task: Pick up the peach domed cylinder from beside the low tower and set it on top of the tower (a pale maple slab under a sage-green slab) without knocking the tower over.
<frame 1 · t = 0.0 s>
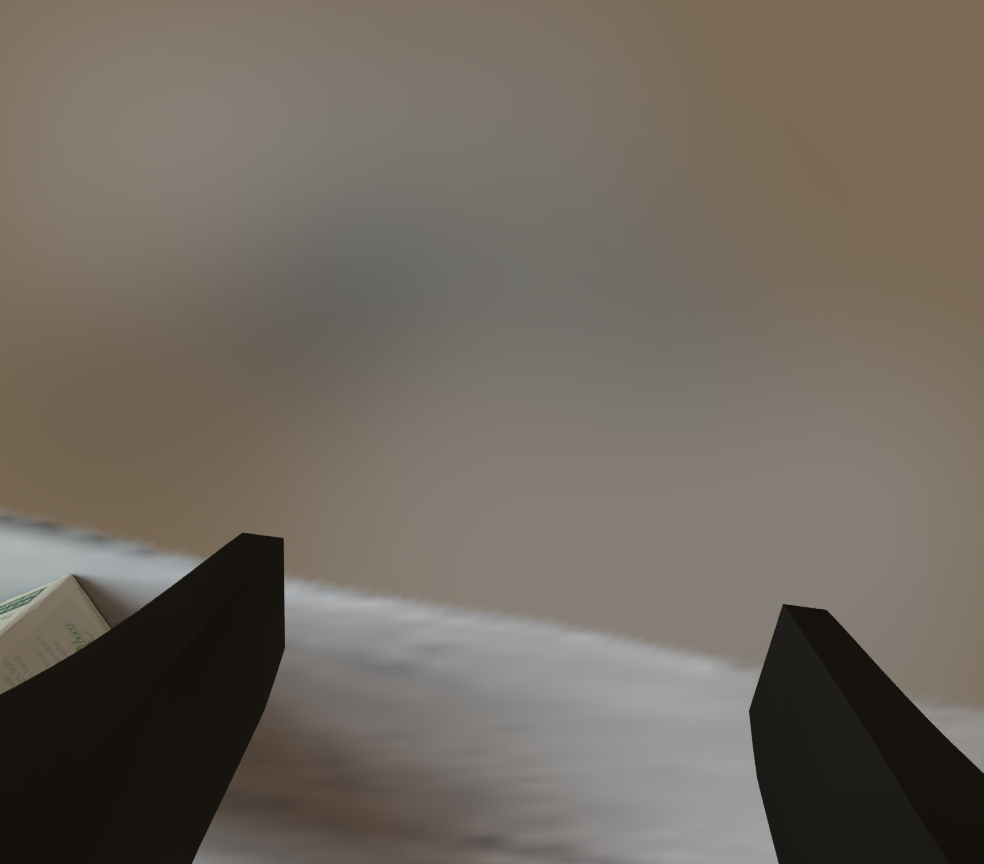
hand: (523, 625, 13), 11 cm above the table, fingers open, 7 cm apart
syrup box: (56, 679, 26), on the table
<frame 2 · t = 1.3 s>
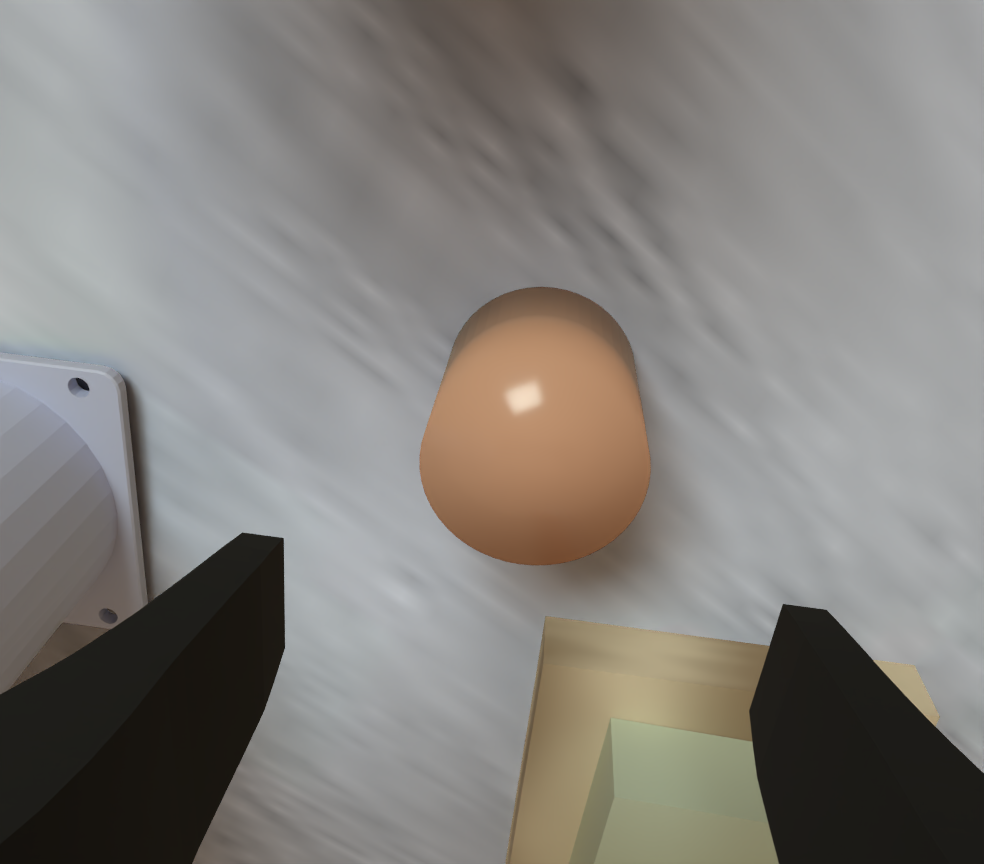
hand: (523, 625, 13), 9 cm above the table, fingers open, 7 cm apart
maple slab: (688, 753, 27), on the table, touching sage slab
sage slab: (708, 828, 25), point 2 cm above the table, touching maple slab
peach domed cylinder: (541, 376, 21), on the table
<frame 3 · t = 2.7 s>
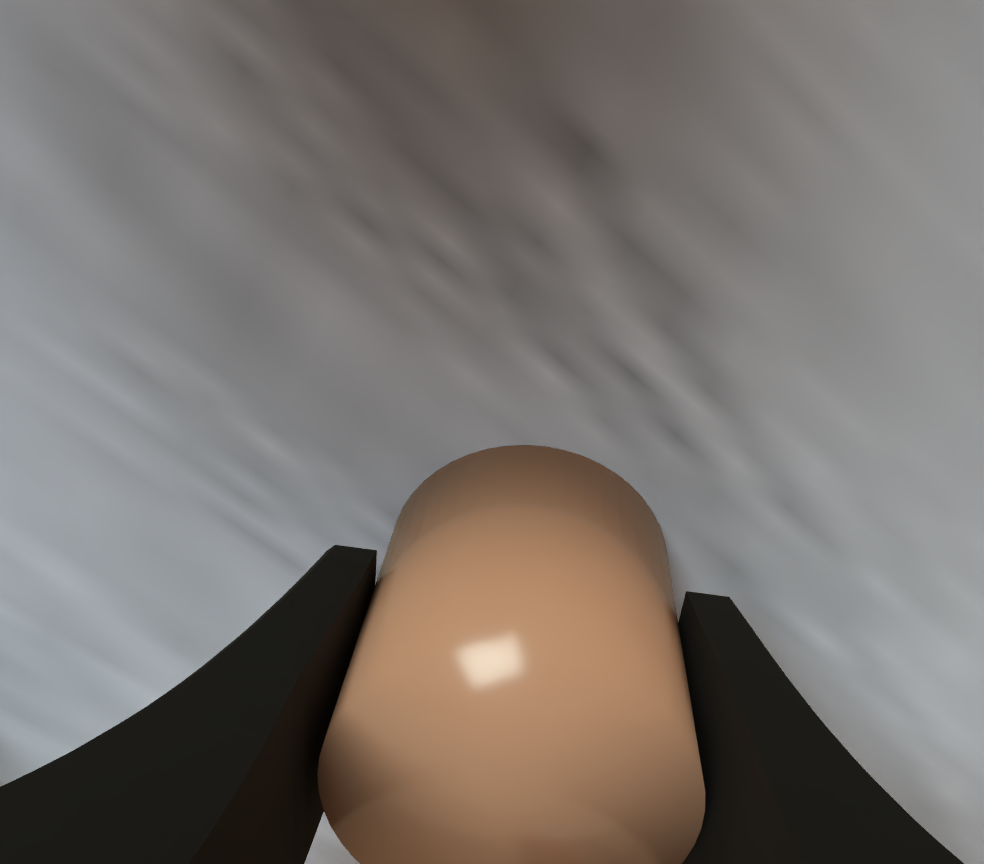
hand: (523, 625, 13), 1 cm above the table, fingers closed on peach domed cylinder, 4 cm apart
peach domed cylinder: (527, 567, 14), on the table, touching gripper
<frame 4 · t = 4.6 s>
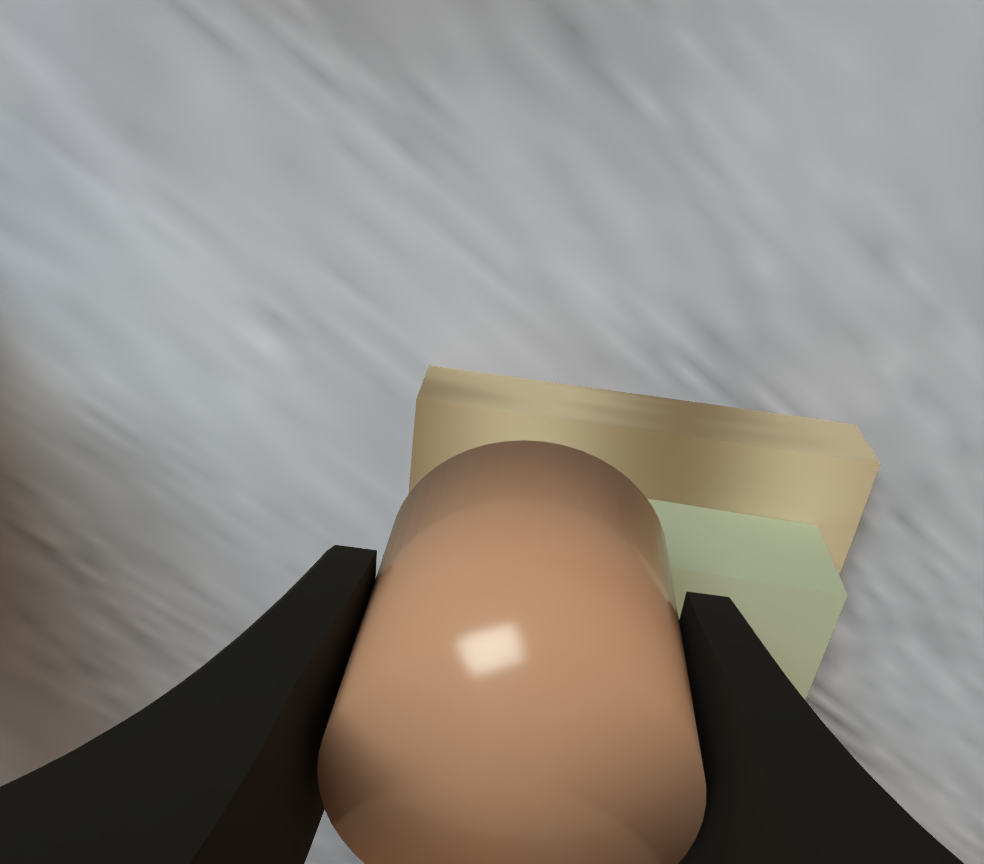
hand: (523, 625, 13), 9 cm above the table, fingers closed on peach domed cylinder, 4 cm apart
maple slab: (603, 553, 23), on the table, touching sage slab
sage slab: (629, 622, 21), point 2 cm above the table, touching maple slab
peach domed cylinder: (527, 563, 14), point 7 cm above the table, touching gripper
when the fingers open (7 cm above the table, at t = 5.9 s): peach domed cylinder drops 2 cm, resting on sage slab.
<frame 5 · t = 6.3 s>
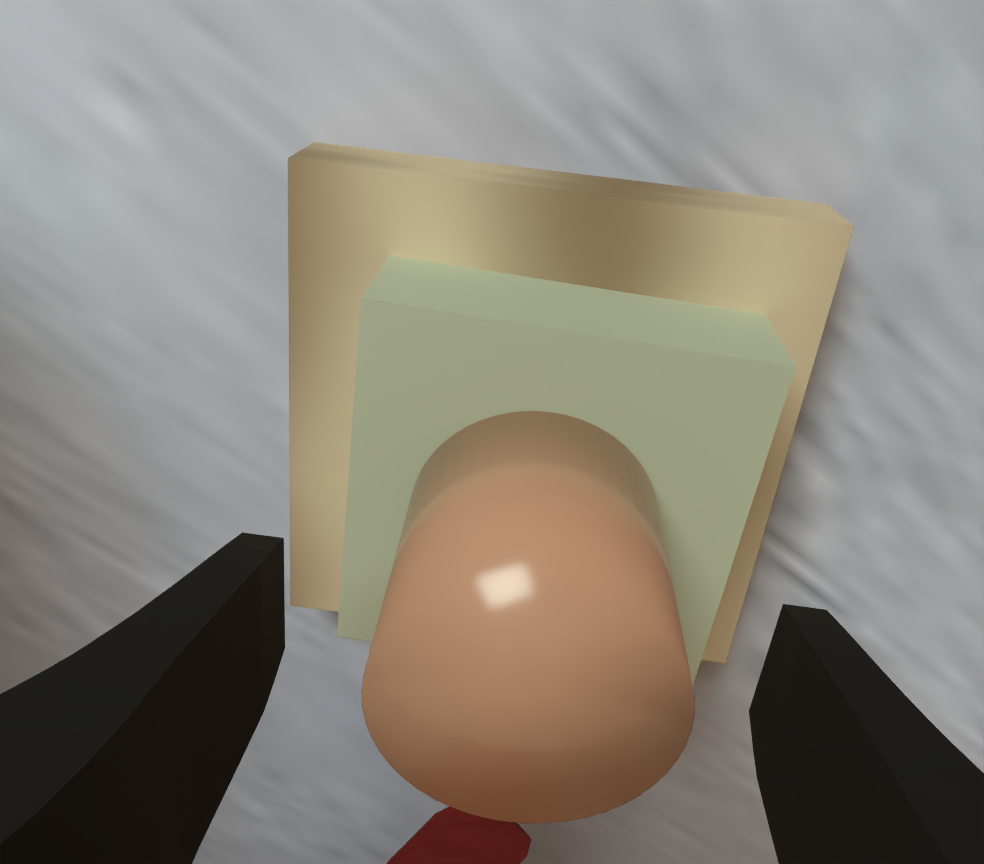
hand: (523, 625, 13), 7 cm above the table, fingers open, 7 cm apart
maple slab: (537, 390, 20), on the table, touching sage slab
sage slab: (546, 449, 18), point 2 cm above the table, touching maple slab, peach domed cylinder
peach domed cylinder: (532, 521, 16), point 4 cm above the table, touching sage slab
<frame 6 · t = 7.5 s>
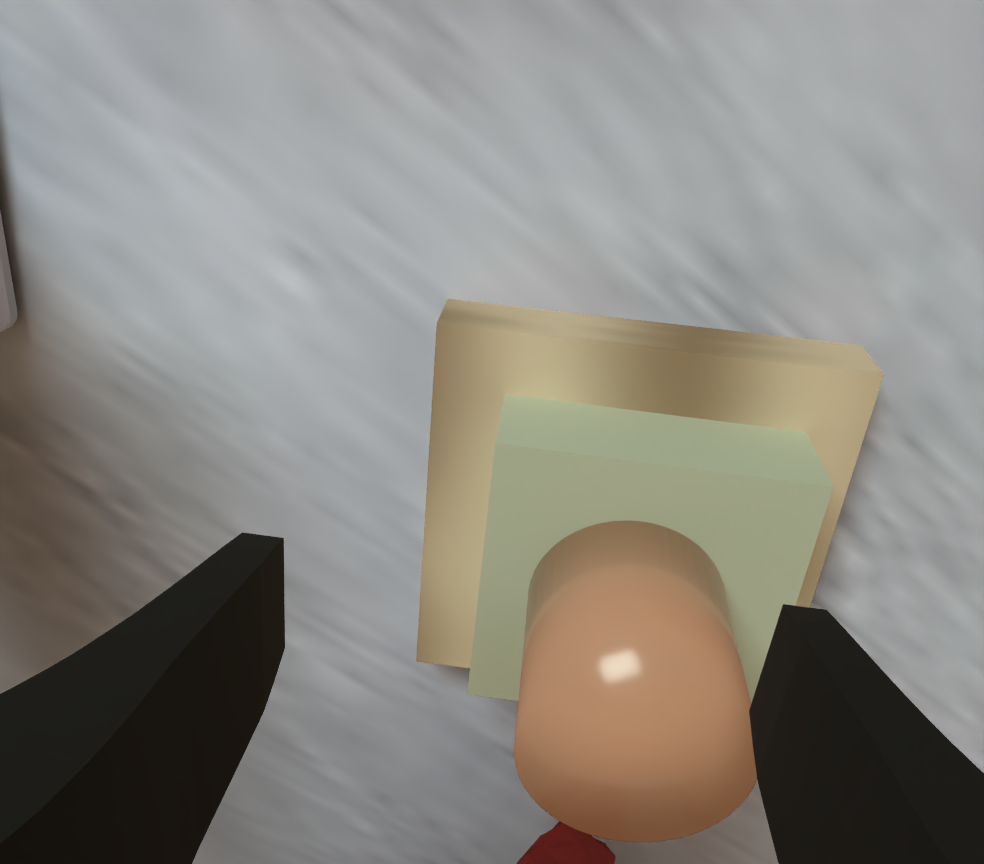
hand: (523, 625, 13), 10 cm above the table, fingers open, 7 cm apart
maple slab: (619, 483, 24), on the table, touching sage slab
sage slab: (629, 537, 22), point 2 cm above the table, touching maple slab, peach domed cylinder
peach domed cylinder: (625, 602, 20), point 4 cm above the table, touching sage slab
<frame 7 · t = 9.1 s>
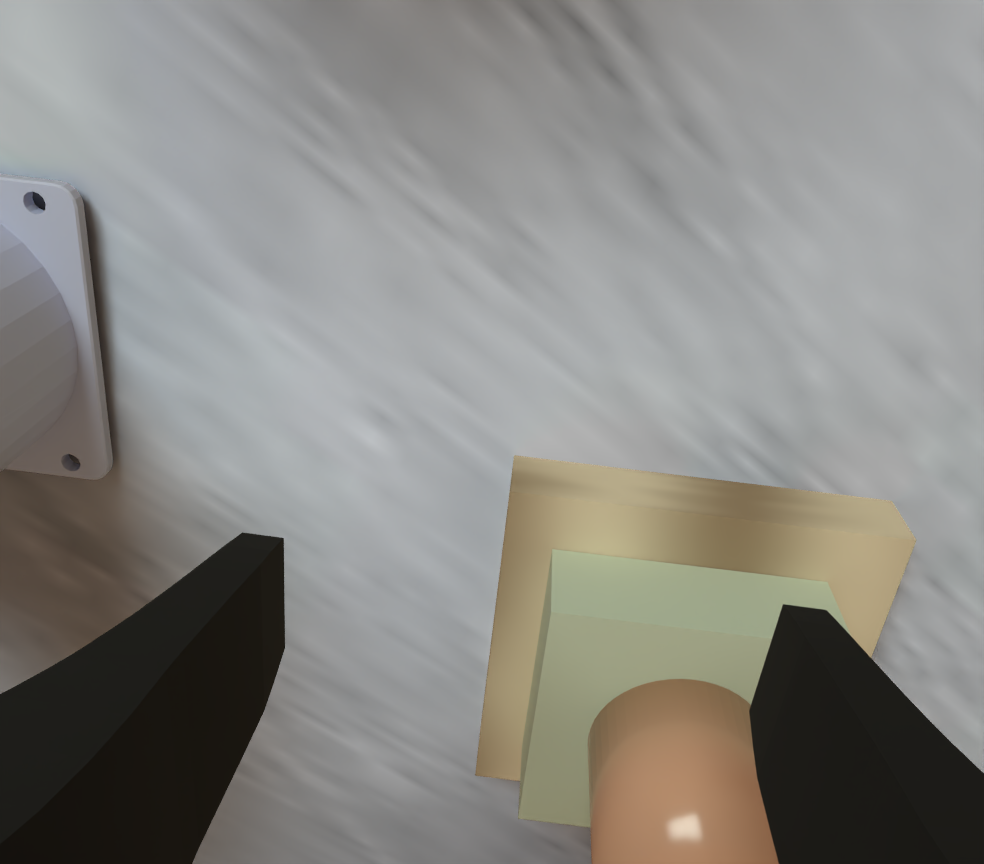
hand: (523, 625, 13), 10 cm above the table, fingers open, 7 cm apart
maple slab: (664, 611, 26), on the table, touching sage slab
sage slab: (663, 669, 24), point 2 cm above the table, touching maple slab, peach domed cylinder
peach domed cylinder: (676, 746, 22), point 4 cm above the table, touching sage slab
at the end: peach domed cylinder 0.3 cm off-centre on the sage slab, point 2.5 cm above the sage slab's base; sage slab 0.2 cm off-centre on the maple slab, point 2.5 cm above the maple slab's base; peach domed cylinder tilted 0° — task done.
